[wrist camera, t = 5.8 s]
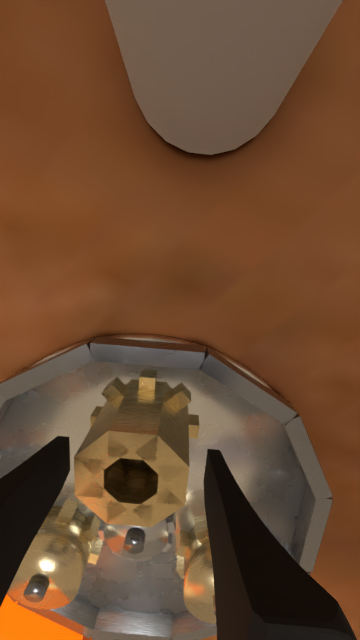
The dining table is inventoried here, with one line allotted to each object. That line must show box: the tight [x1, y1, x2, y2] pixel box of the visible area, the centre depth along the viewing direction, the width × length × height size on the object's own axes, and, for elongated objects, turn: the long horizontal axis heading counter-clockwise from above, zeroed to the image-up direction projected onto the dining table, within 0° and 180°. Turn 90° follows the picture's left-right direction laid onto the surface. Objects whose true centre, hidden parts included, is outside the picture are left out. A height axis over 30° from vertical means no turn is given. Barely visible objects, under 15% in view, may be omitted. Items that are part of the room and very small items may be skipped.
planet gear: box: [74, 369, 199, 527], centre depth 13 cm, size 6×6×5 cm
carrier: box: [0, 334, 333, 640], centre depth 15 cm, size 24×24×4 cm
